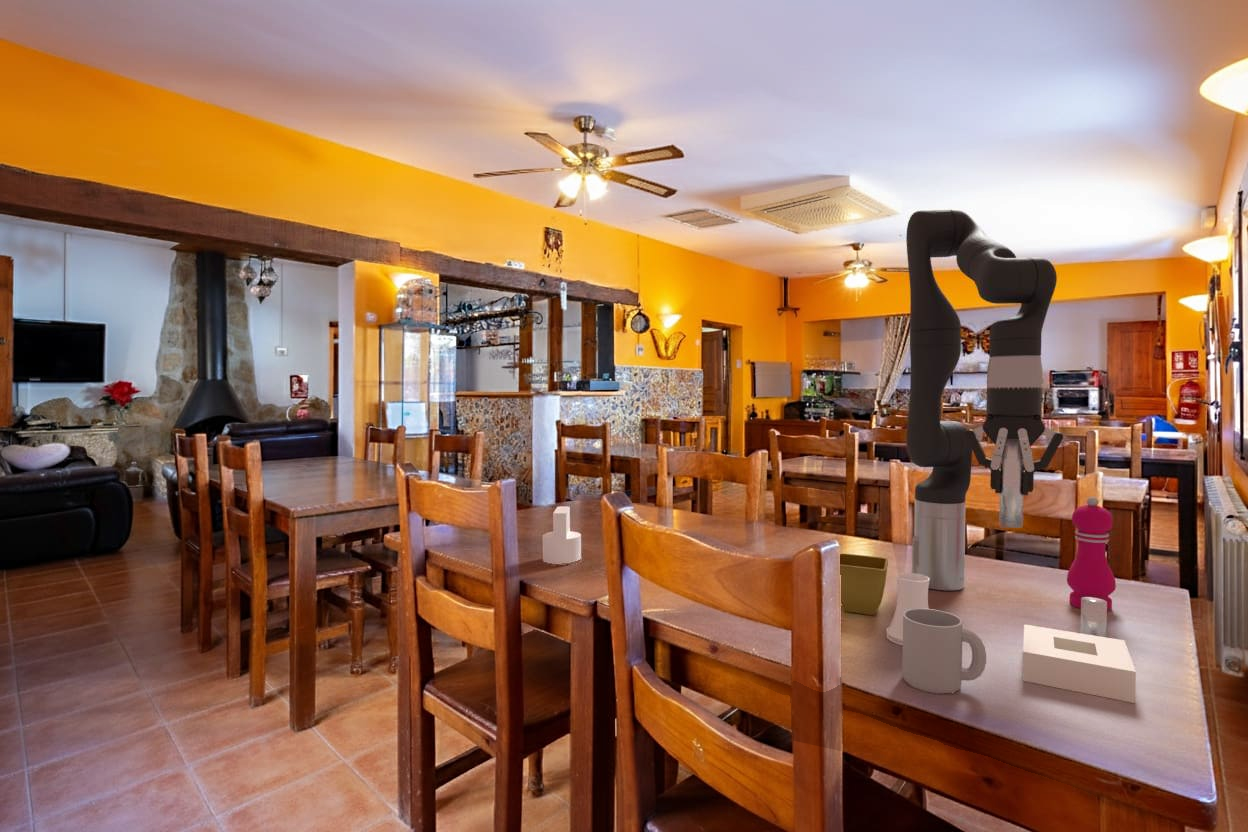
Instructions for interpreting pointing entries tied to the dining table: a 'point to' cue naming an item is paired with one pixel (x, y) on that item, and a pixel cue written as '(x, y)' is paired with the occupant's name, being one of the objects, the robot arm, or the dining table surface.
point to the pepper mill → (1091, 555)
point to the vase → (907, 601)
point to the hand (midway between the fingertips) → (1011, 493)
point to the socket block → (1078, 663)
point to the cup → (938, 651)
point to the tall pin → (1011, 485)
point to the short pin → (1093, 616)
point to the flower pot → (862, 582)
